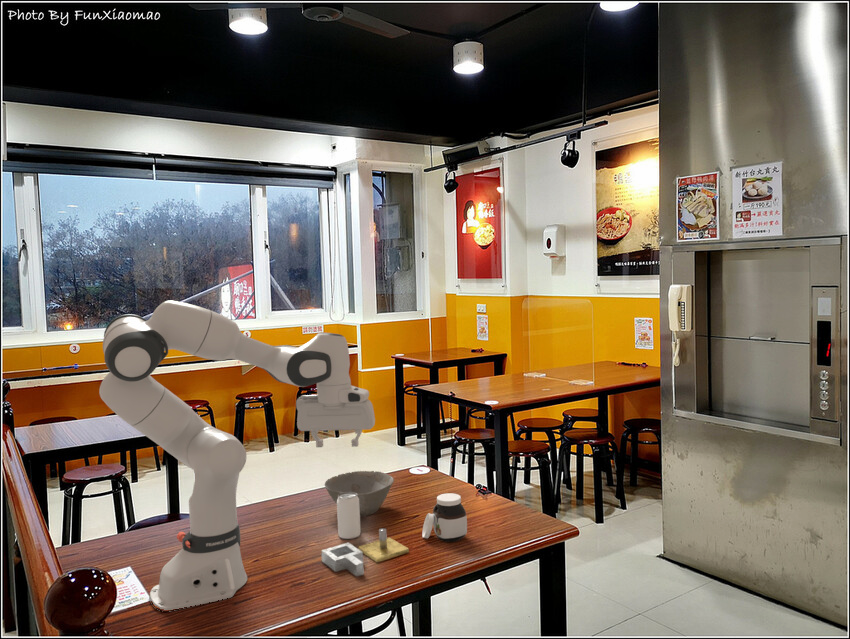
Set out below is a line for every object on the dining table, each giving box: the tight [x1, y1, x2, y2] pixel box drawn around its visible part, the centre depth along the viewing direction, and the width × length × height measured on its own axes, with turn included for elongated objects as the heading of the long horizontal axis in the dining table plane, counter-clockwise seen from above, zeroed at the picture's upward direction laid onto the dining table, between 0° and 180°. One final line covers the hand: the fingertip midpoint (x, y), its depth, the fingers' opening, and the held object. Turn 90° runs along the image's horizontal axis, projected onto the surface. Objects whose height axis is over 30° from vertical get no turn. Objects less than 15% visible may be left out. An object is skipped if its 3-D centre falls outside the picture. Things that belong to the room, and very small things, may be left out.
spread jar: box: [421, 492, 468, 543], centre depth 179 cm, size 12×11×12 cm
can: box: [336, 492, 361, 540], centre depth 184 cm, size 6×6×12 cm
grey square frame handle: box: [320, 542, 365, 578], centre depth 164 cm, size 14×8×3 cm, turn 34°
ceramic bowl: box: [324, 470, 395, 517], centre depth 203 cm, size 22×23×10 cm
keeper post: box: [357, 527, 410, 563], centre depth 172 cm, size 10×10×6 cm
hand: (337, 446), depth 165 cm, fingers open, 8 cm apart
